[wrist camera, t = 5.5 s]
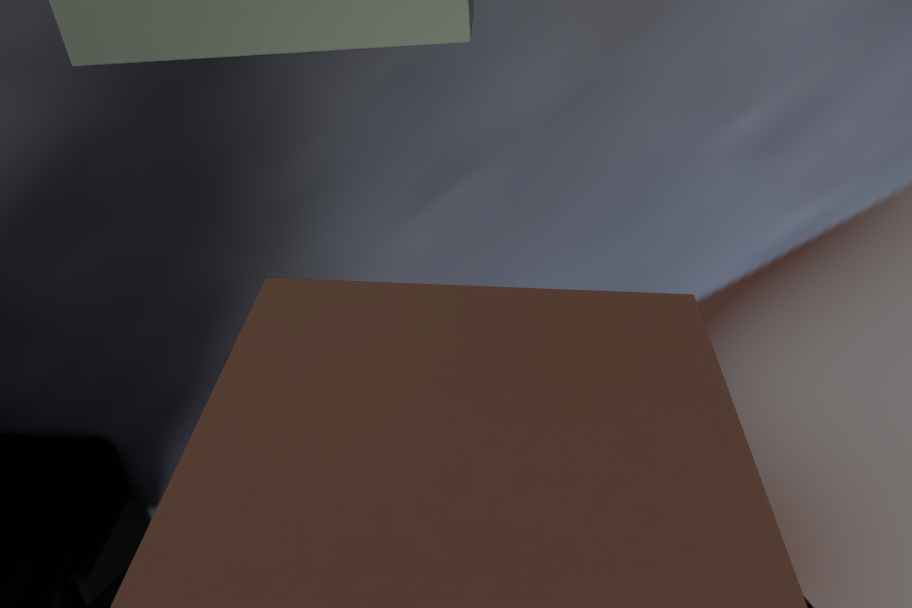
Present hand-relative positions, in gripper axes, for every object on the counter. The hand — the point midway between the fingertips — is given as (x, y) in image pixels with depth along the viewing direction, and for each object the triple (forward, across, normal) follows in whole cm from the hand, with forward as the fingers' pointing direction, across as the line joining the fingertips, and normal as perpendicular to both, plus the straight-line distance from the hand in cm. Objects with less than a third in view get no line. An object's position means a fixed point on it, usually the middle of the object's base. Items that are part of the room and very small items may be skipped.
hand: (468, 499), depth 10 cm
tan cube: (+1, 0, 0) cm, 1 cm away
